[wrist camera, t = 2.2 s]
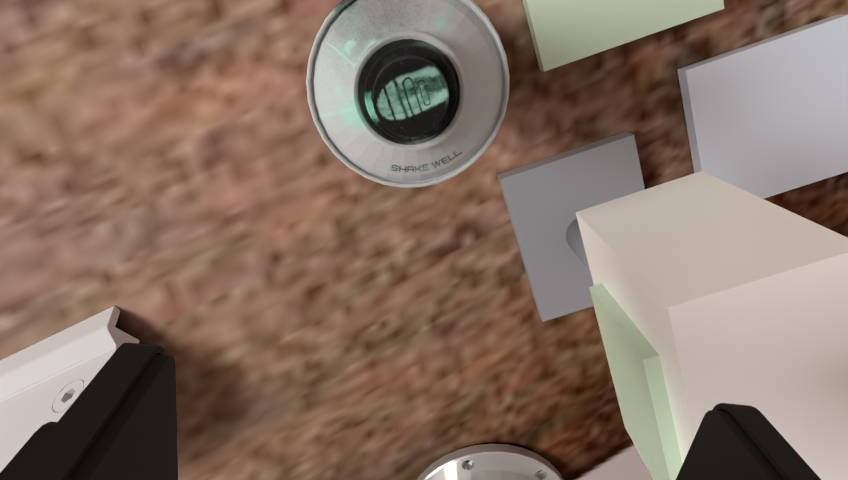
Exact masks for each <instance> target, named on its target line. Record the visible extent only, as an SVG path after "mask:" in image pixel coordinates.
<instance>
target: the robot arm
mask: <svg viewBox="0 0 848 480" xmlns="http://www.w3.org/2000/svg"><path fill="white" fill-rule="evenodd" d="M0 480H178V462H177V422H176V381H175V360H174V357H172V356H166V355H165V353H164V349H163V347H161V346H157V345H147V344H137V343H127V342H126V343H123V344H122V345H121V346H120V347H119V348H118V349H117V350H116V351H115V352H114V354H113V355H112V356H111V357H110V359H109V360H108V361H107V362H106V363H105V365H104V366H103V367H102V368H101V370H100V371H99V372H98V373H97V374H96V376H95V377H94V378H93V379H92V380H91V382H90V383H89V384H88V385H87V387H86V388H85V389H84V390H83V391H82V393H81V394H80V395H79V396H78V398H77V399H76V400H75V401H74V402H73V404H72V405H71V406H70V407H69V409H68V410H67V411H66V412H65V413H64V415H63V416H62V417H61V418H60V420H59V421H58V422H51V421H50V422H48V423H46V424H44V425H42V426H41V427H40V428H39V429H38V430H37V431H36V432H35V433H34V434H33V435H32V436H31V437H30V439H29V440H28V441H27V442H26V443H25V444H24V446H23V447H22V448H21V449H20V450H19V451H18V453H17V454H16V455H15V456H14V457H13V458H12V460H11V461H10V462H9V463H8V464H7V466H6V467H5V468H4V469H3V470H2V471H1V473H0ZM417 480H564V479H563V478H562V476H561V474H560V473H559V471H558V470H557V469H556V468H555V467H554V466H553V465H552V464H551V463H550V462H549V461H547V460H546V459H544V458H543V457H541V456H540V455H538V454H537V453H534V452H532V451H529V450H527V449H524V448H521V447H517V446H512V445H507V444H483V445H474V446H470V447H466V448H462V449H459V450H457V451H454V452H452V453H450V454H447V455H445V456H443V457H442V458H440V459H439V460H437V461H435V462H434V463H432V464H431V465H430V466H429V467H428V468H427V469H426V470H425V471H423V472H422V473H421V475H420V476H419V477H418V479H417ZM676 480H821V479H820V478H819V477H818V476H817V474H816V473H815V472H814V471H813V470H812V469H811V468H810V467H809V465H808V464H807V463H806V462H805V461H804V460H803V459H802V458H801V456H800V455H799V454H798V453H797V452H796V451H795V450H794V449H793V448H792V446H791V445H790V444H789V443H788V442H787V441H786V440H785V439H784V437H783V436H782V435H781V434H780V433H779V432H778V431H777V430H776V429H775V427H774V426H773V425H772V424H771V423H770V422H769V421H768V420H767V418H766V417H765V416H764V415H763V414H762V413H761V412H760V411H759V410H758V409H757V408H755V407H753V406H748V405H739V404H729V403H719V404H717V405H716V406H714V408H713V409H712V410H709V411H708V412H706V414H705V415H704V417H703V419H702V422H701V424H700V426H699V428H698V431H697V433H696V435H695V437H694V440H693V442H692V444H691V446H690V449H689V451H688V453H687V455H686V458H685V460H684V462H683V464H682V467H681V469H680V471H679V474H678V476H677V478H676Z"/></svg>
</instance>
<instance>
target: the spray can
mask: <svg viewBox="0 0 848 480" xmlns="http://www.w3.org/2000/svg"><path fill="white" fill-rule="evenodd" d="M509 81H510V75H509V69H508V63H507V57H506V53H505V51H504V48H503V45H502V42H501V40H500V37H499V35H498V33H497V32H496V30H495V28H494V27H493V25H492V23H491V22H490V20H489V19H488V17H487V16H486V14H485V13H484V12H483V11H482V10H481V9H480V8H479V7H478V6H477V5H476V4H475V3H474V1H473V0H343V1H341V2H340V3H339V4H338V5H337V6H336V7H335V9H334V10H333V11H332V12H331V13H330V15H329V16H328V17H327V18H326V19H325V21H324V23H323V25H322V27H321V28H320V30H319V32H318V34H317V36H316V38H315V40H314V43H313V47H312V50H311V53H310V57H309V60H308V69H307V79H306V84H307V95H308V103H309V107H310V110H311V114H312V117H313V121H314V123H315V125H316V127H317V129H318V131H319V133H320V135H321V137H322V139H323V140H324V142H325V143H326V144H327V146H328V147H329V148H330V149H331V151H332V152H333V153H334V155H335V156H336V157H337V158H339V159H340V160H341V161H342V162H343V163H344V164H345V165H346V166H348V167H349V168H350V169H352V170H353V171H355V172H357V173H358V174H360V175H362V176H363V177H365V178H367V179H370V180H373V181H375V182H378V183H381V184H384V185H389V186H396V187H402V188H406V187H423V186H428V185H432V184H437V183H440V182H443V181H445V180H447V179H450V178H452V177H454V176H456V175H458V174H459V173H461V172H462V171H464V170H465V169H467V168H468V167H470V166H471V165H472V164H473V163H474V162H475V161H476V160H477V159H478V158H479V157H480V156H481V155H482V154H483V153H484V152H485V151H486V150H487V149H488V147H489V146H490V144H491V143H492V141H493V140H494V138H495V137H496V135H497V133H498V131H499V128H500V126H501V124H502V121H503V119H504V117H505V113H506V108H507V104H508V99H509Z"/></svg>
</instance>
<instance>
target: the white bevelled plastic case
mask: <svg viewBox="0 0 848 480" xmlns="http://www.w3.org/2000/svg"><path fill="white" fill-rule="evenodd" d="M119 314H120V310H119V309H118V308H117V307H115V306H113V307H111V308H109V309H107V310H105V311H103V312H101V313H98V314H96V315H94V316H92V317H90V318H88V319H86V320H84V321H82V322H80V323H78V324H75V325H73V326H71V327H69V328H67V329H65V330H63V331H61V332H59V333H57V334H55V335H53V336H50V337H48V338H46V339H44V340H42V341H40V342H38V343H36V344H34V345H32V346H30V347H28V348H25V349H23V350H21V351H19V352H17V353H15V354H13V355H11V356H9V357H7V358H5V359H3V360H0V473H1V471H2V470H3V469H4V468H5V467H6V466H7V464H8V463H9V462H10V461H11V460H12V458H13V457H14V456H15V455H16V454H17V453H18V451H19V450H20V449H21V448H22V447H23V446H24V444H25V443H26V442H27V441H28V440H29V439H30V437H31V436H32V435H33V434H34V433H35V432H36V431H37V430H38V429H39V428H40V427H41V426H42V425H44V424H46V423H48V422H50V421H51V422H58V421H59V420H60V418H61V417H62V416H63V415H64V413H65V412H66V411H67V410H68V409H69V407H70V406H71V405H72V404H73V402H74V401H75V400H76V399H77V398H78V396H79V395H80V394H81V393H82V391H83V390H84V389H85V388H86V387H87V385H88V384H89V383H90V382H91V380H92V379H93V378H94V377H95V376H96V374H97V373H98V372H99V371H100V370H101V368H102V367H103V366H104V365H105V363H106V362H107V361H108V360H109V359H110V357H111V356H112V355H113V354H114V352H115V351H116V350H117V349H118V348H119V347H120V346H121V345H122V344H123V343H126V342H127V343H137V344H139V341H140V340H138V339H136V338H134V337H132V336H131V335H129V334H127V333H125V332H123V331H122V330H120V329H118V328H116V327H115V326H116V323H117V320H118V317H119Z"/></svg>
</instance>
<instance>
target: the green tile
mask: <svg viewBox="0 0 848 480" xmlns="http://www.w3.org/2000/svg"><path fill="white" fill-rule="evenodd" d="M522 1H523V5H524V9H525V13H526V17H527V21H528V25H529V29H530V33H531V37H532V41H533V45H534V49H535V53H536V57H537V61H538V64H539V68H540V71H543V72H545V71H548V70H551V69H554V68H556V67H559V66H562V65H565V64H568V63H571V62H574V61H576V60H579V59H582V58H585V57H588V56H591V55H593V54H596V53H599V52H602V51H605V50H608V49H611V48H613V47H616V46H619V45H622V44H625V43H628V42H631V41H633V40H636V39H639V38H642V37H645V36H648V35H651V34H653V33H656V32H659V31H662V30H665V29H668V28H670V27H673V26H676V25H679V24H682V23H685V22H688V21H690V20H693V19H696V18H699V17H702V16H705V15H708V14H710V13H713V12H716V11H719V10H722V9H724V2H723V0H522Z"/></svg>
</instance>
